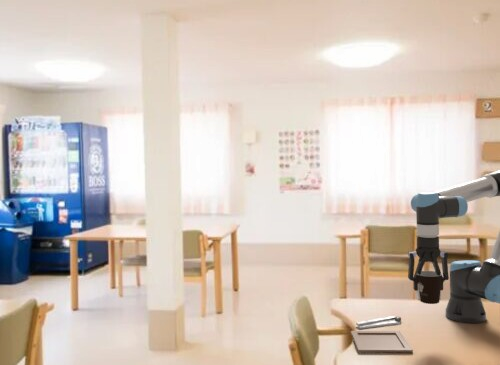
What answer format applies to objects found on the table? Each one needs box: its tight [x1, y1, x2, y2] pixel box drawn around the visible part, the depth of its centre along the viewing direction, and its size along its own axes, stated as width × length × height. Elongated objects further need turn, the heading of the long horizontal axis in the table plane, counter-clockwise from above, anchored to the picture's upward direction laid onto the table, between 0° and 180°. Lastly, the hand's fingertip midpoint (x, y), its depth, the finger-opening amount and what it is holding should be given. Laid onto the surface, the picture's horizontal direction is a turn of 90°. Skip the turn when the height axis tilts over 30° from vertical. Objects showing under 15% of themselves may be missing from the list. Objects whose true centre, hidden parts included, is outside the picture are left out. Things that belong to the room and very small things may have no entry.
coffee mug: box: [416, 270, 443, 305], centre depth 172 cm, size 12×9×10 cm
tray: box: [350, 330, 414, 355], centre depth 170 cm, size 18×18×1 cm
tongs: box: [355, 315, 402, 330], centre depth 189 cm, size 19×5×2 cm, turn 106°
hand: (428, 299), depth 172 cm, fingers closed on coffee mug, 6 cm apart
